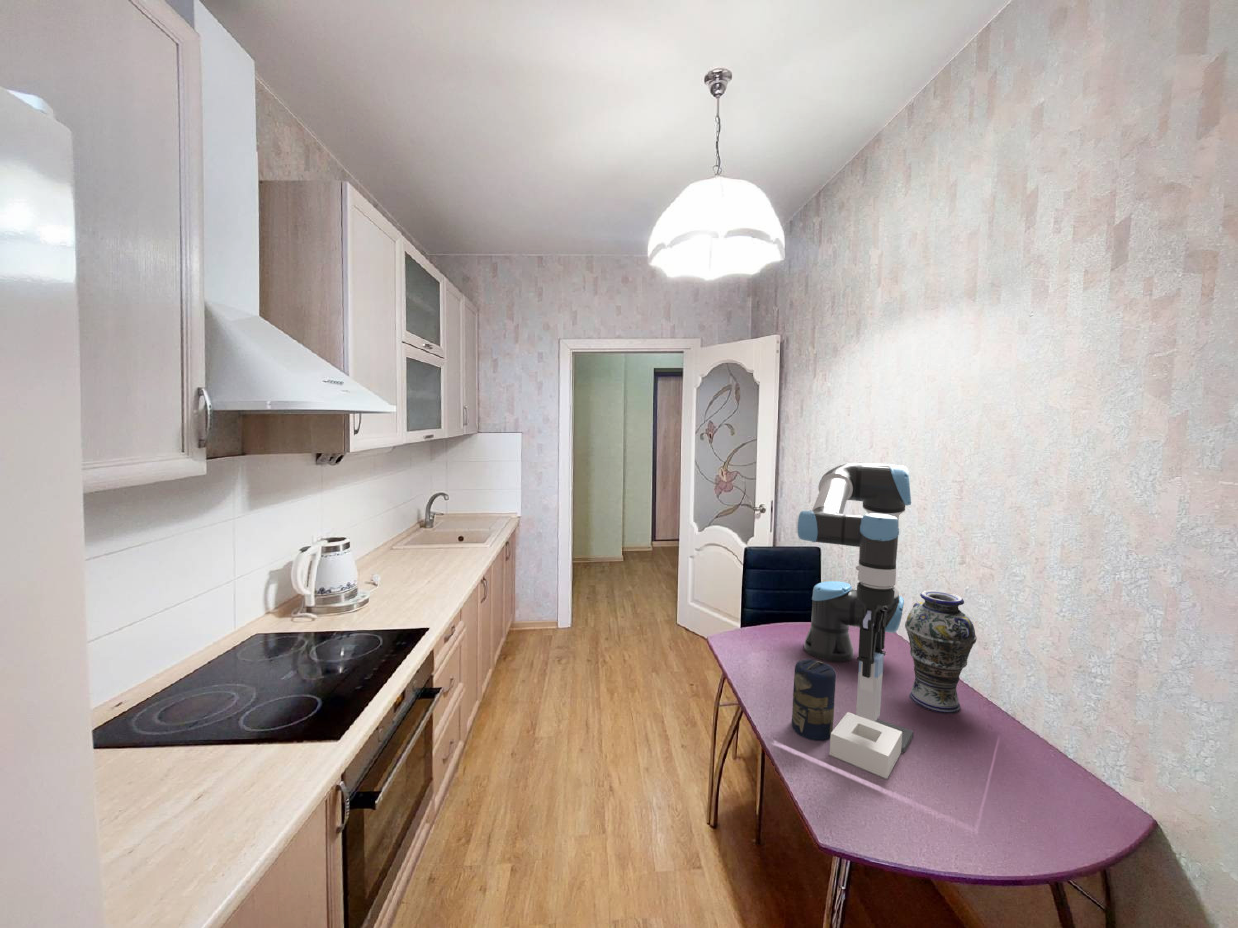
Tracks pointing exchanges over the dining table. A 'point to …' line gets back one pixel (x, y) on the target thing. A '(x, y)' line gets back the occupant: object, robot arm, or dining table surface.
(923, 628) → the vase
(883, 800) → the dining table surface
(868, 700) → the plug
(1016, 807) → the dining table surface
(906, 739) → the gray recessed square plate
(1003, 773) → the dining table surface
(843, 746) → the block
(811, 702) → the canister
